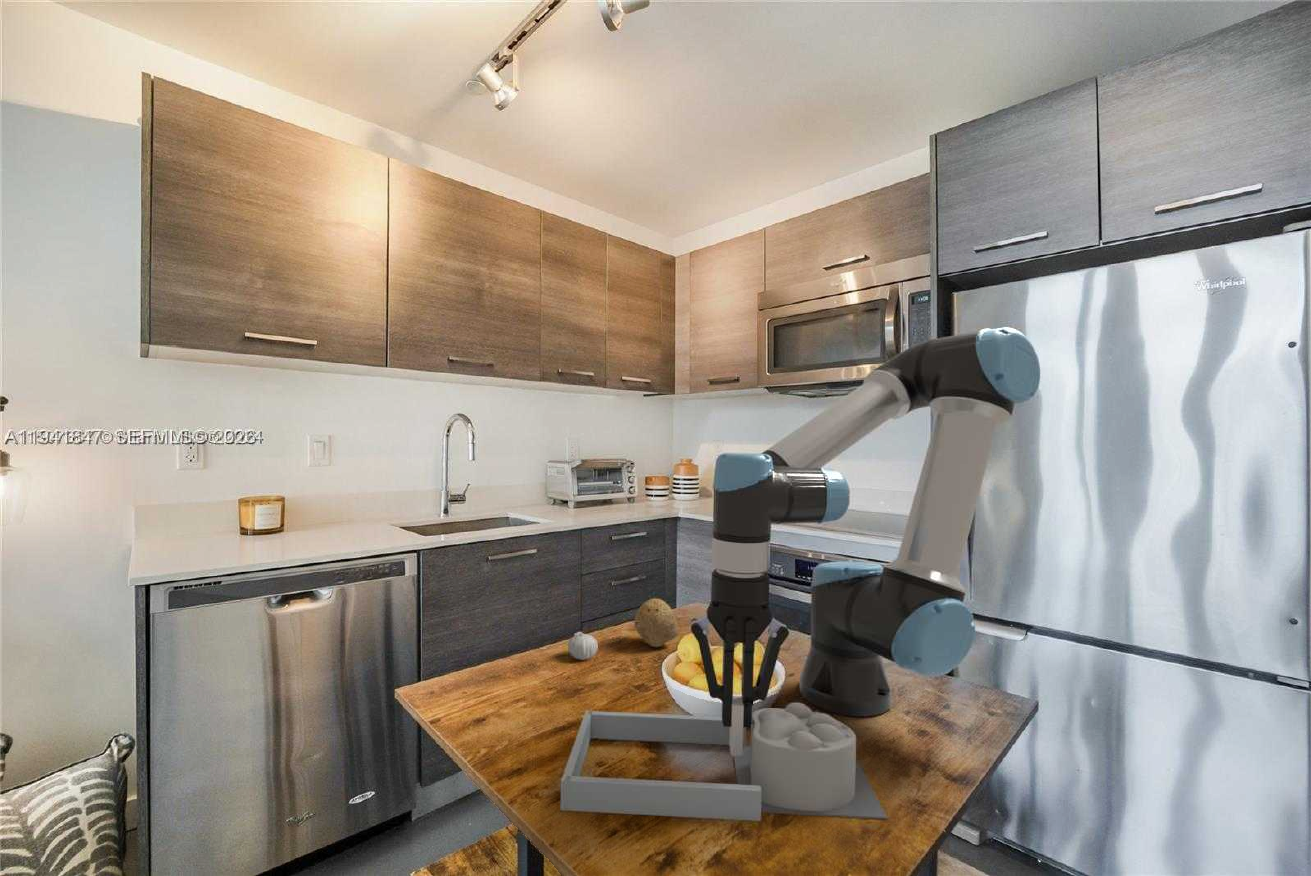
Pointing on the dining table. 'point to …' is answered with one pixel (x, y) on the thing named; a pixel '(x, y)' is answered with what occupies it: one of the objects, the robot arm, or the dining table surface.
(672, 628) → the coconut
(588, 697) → the dining table surface
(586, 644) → the garlic
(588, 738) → the low rectangular rim
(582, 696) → the dining table surface
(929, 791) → the dining table surface
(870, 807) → the mat
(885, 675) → the robot arm
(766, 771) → the lumpy-topped squat cylinder
